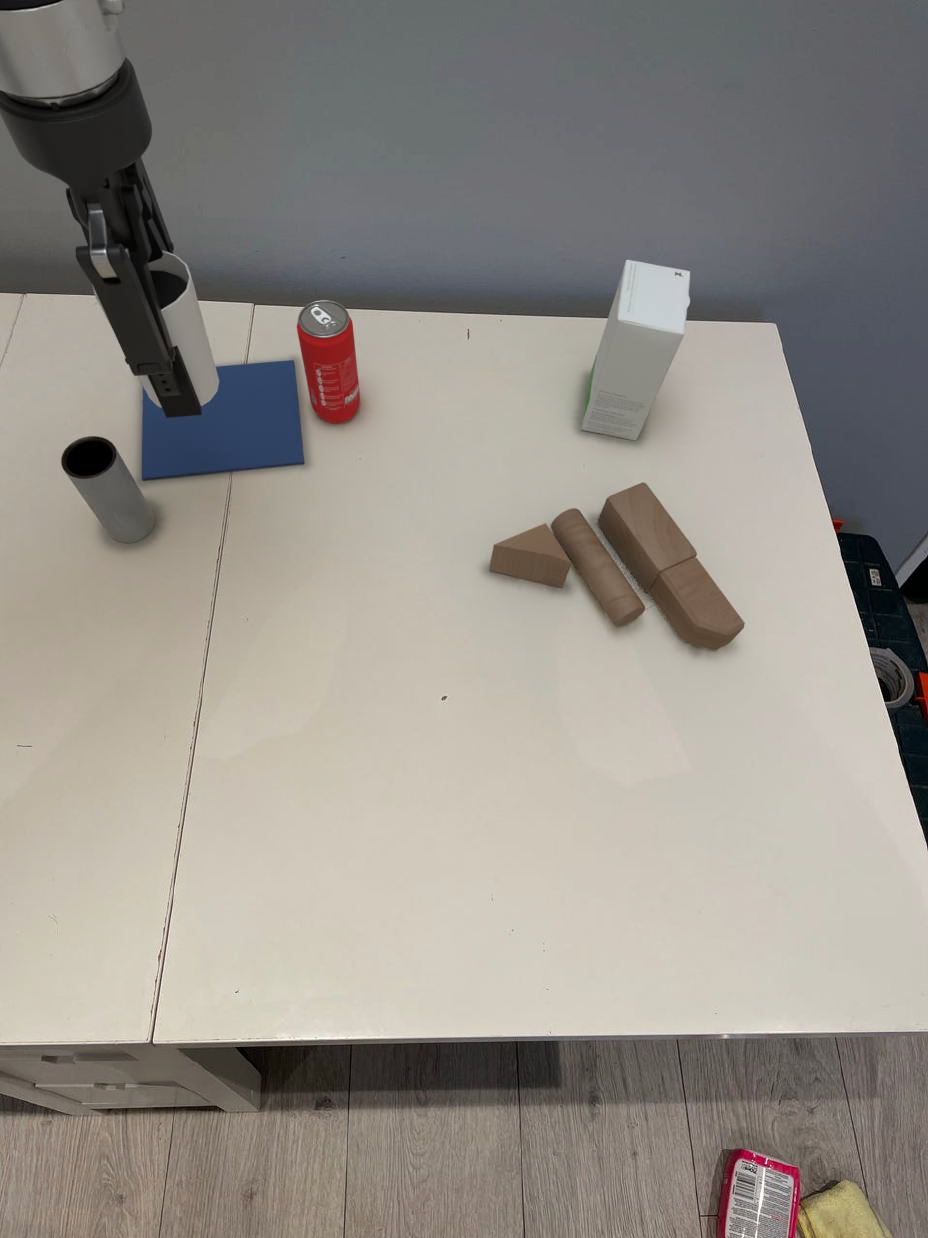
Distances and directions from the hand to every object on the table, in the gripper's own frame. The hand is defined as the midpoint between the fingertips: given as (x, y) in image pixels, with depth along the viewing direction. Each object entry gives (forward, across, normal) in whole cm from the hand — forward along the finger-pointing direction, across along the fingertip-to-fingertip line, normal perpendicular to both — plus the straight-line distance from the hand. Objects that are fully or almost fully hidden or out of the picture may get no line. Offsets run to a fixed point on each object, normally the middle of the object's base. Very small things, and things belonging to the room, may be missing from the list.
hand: (184, 381), depth 60 cm
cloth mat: (+15, +9, 0) cm, 18 cm away
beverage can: (+15, +10, -12) cm, 21 cm away
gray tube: (+15, -3, +9) cm, 18 cm away
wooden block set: (+15, -17, -35) cm, 42 cm away
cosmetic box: (+15, +6, -42) cm, 45 cm away
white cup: (0, 0, 0) cm, 0 cm away
